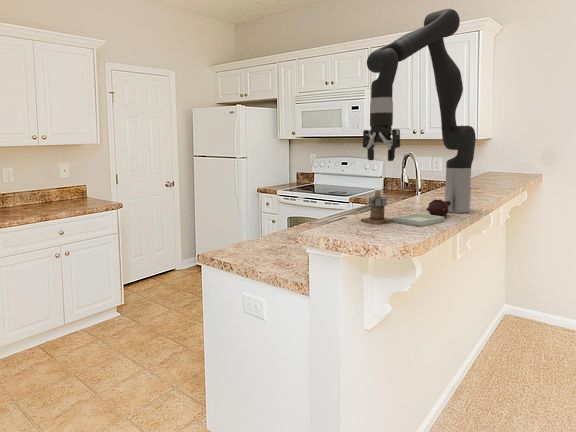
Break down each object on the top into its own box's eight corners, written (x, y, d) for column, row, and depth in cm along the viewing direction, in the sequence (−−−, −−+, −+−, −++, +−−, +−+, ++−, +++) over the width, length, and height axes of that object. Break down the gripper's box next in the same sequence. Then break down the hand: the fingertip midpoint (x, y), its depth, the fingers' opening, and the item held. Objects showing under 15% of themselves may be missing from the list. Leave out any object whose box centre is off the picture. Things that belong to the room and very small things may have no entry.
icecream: (438, 203, 161) (460, 202, 171) (421, 196, 166) (442, 196, 176) (432, 222, 163) (453, 220, 173) (415, 214, 168) (437, 213, 178)
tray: (416, 217, 170) (416, 212, 170) (444, 221, 161) (444, 216, 161) (392, 222, 162) (392, 217, 161) (420, 226, 153) (420, 221, 152)
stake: (376, 218, 169) (376, 188, 167) (393, 221, 162) (394, 190, 161) (360, 221, 164) (361, 190, 162) (378, 224, 158) (379, 192, 156)
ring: (378, 202, 167) (378, 195, 166) (391, 204, 162) (391, 197, 162) (363, 205, 162) (363, 197, 162) (376, 206, 157) (376, 199, 157)
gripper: (405, 111, 152) (404, 160, 155) (372, 113, 163) (371, 159, 166) (391, 110, 147) (390, 161, 150) (357, 112, 158) (357, 160, 161)
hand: (380, 160), depth 158 cm, fingers open, 8 cm apart
